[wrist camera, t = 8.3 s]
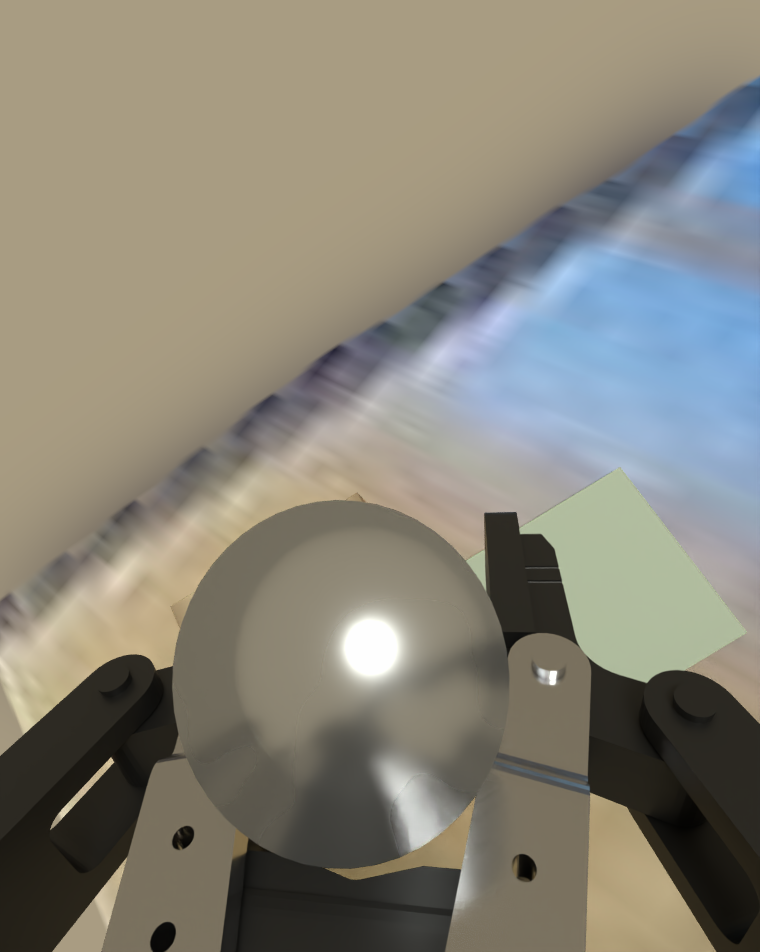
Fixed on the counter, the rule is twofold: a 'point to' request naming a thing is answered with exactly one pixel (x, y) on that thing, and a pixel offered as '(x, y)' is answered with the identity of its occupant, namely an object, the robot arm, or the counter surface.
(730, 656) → the counter surface
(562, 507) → the mat
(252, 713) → the peg
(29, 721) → the counter surface
